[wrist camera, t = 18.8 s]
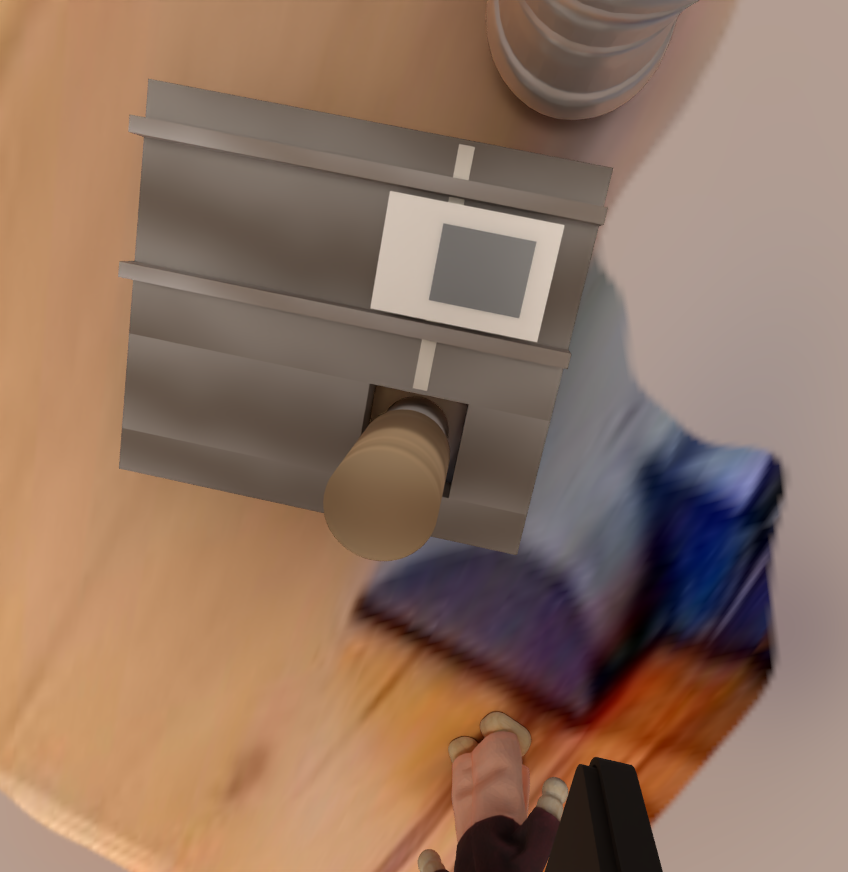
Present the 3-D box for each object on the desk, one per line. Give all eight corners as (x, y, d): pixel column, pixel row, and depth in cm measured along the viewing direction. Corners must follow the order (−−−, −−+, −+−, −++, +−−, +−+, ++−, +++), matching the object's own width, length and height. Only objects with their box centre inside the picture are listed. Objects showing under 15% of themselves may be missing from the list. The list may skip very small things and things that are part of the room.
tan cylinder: (382, 382, 31) (332, 440, 21) (462, 399, 30) (448, 465, 21) (369, 458, 32) (315, 547, 22) (446, 474, 31) (426, 571, 22)
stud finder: (401, 197, 26) (389, 190, 23) (556, 228, 26) (565, 225, 23) (383, 302, 27) (369, 308, 24) (532, 333, 27) (537, 342, 24)
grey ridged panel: (171, 90, 28) (132, 70, 25) (604, 174, 28) (618, 164, 25) (140, 455, 33) (104, 476, 30) (515, 537, 32) (517, 567, 29)
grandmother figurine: (477, 809, 36) (469, 1095, 24) (419, 767, 36) (380, 1034, 23) (576, 714, 34) (622, 972, 22) (515, 668, 34) (528, 904, 21)
